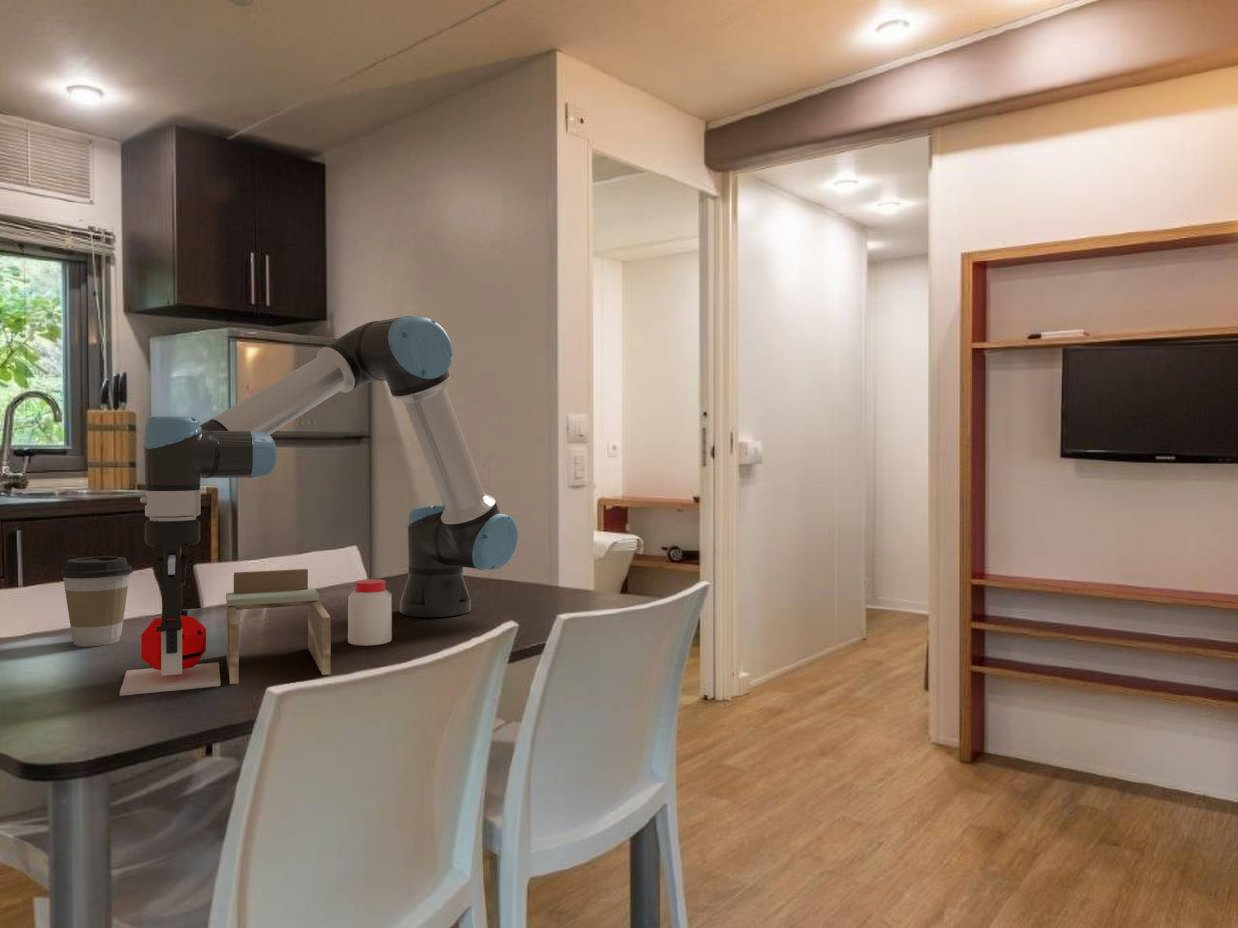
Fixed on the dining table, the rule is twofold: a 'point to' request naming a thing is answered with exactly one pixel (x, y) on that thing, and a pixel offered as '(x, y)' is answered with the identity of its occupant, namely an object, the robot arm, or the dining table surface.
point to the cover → (271, 587)
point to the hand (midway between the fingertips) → (172, 666)
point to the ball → (190, 642)
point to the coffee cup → (96, 598)
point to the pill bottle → (370, 613)
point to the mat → (170, 679)
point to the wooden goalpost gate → (316, 635)
